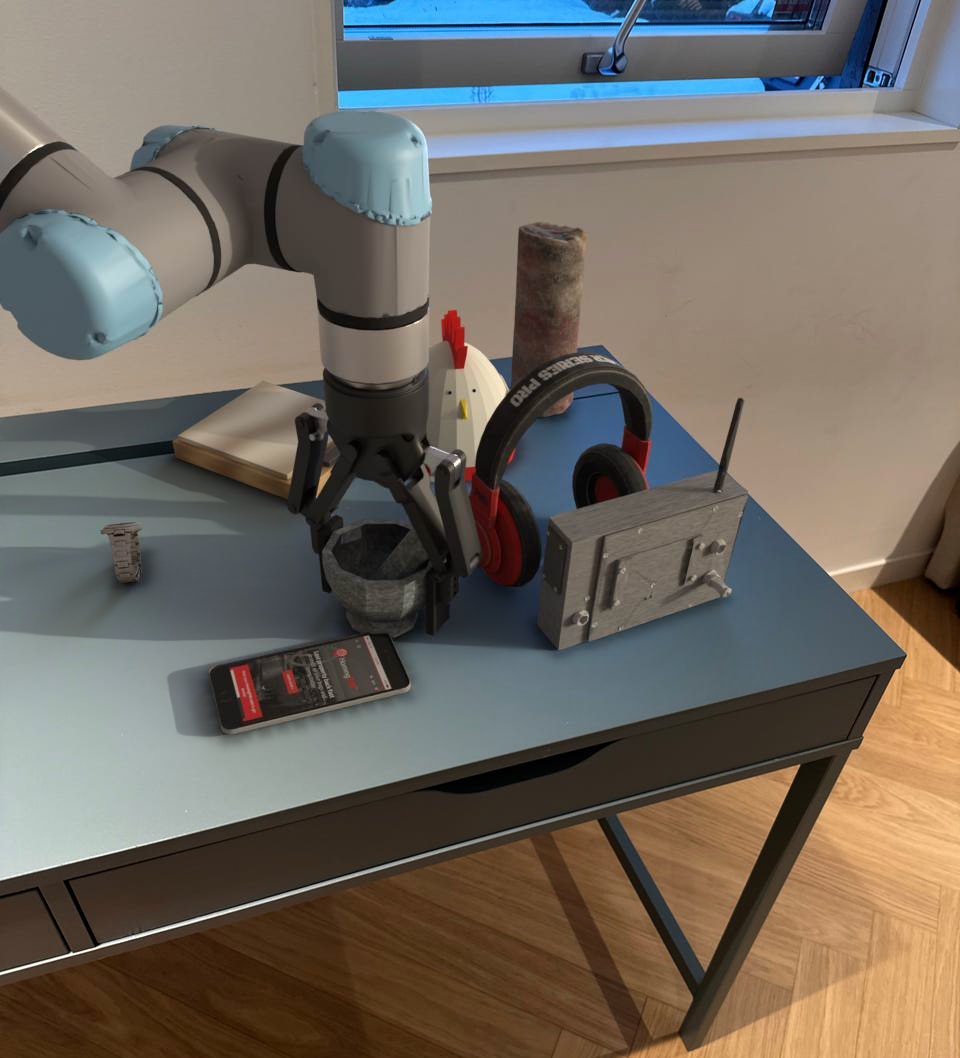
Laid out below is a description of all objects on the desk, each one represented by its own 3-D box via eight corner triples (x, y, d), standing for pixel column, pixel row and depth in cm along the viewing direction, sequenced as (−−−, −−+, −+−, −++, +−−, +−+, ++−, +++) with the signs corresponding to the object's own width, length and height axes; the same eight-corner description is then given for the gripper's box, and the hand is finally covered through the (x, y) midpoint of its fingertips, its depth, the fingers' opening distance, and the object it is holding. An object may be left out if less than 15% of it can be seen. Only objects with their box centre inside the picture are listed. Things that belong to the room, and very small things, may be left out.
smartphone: (206, 667, 75) (386, 627, 79) (208, 673, 76) (387, 633, 80) (222, 732, 70) (413, 686, 74) (223, 738, 71) (413, 692, 75)
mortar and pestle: (324, 652, 77) (319, 531, 69) (325, 583, 84) (320, 466, 76) (459, 649, 79) (469, 530, 71) (449, 582, 86) (456, 467, 78)
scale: (175, 457, 99) (170, 436, 97) (265, 398, 108) (262, 377, 107) (307, 507, 93) (304, 485, 91) (388, 439, 103) (388, 418, 101)
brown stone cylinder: (495, 399, 110) (504, 224, 97) (539, 380, 114) (553, 209, 100) (541, 425, 106) (558, 246, 93) (585, 404, 110) (607, 230, 96)
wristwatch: (151, 549, 87) (140, 504, 84) (148, 591, 83) (136, 546, 79) (112, 552, 87) (99, 508, 83) (107, 595, 82) (93, 550, 79)
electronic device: (693, 571, 88) (742, 376, 74) (738, 615, 84) (800, 416, 70) (532, 624, 82) (553, 420, 68) (572, 674, 77) (603, 468, 64)
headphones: (503, 618, 82) (519, 414, 68) (446, 556, 88) (450, 358, 74) (658, 558, 89) (700, 363, 75) (595, 505, 95) (623, 315, 82)
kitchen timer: (399, 487, 96) (396, 350, 86) (378, 419, 106) (373, 289, 96) (529, 474, 99) (541, 339, 89) (497, 409, 109) (504, 281, 98)
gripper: (542, 385, 65) (520, 624, 80) (279, 308, 72) (305, 540, 87) (491, 434, 60) (478, 678, 75) (215, 345, 67) (254, 584, 82)
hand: (385, 604), depth 81 cm, fingers closed on mortar and pestle, 10 cm apart
